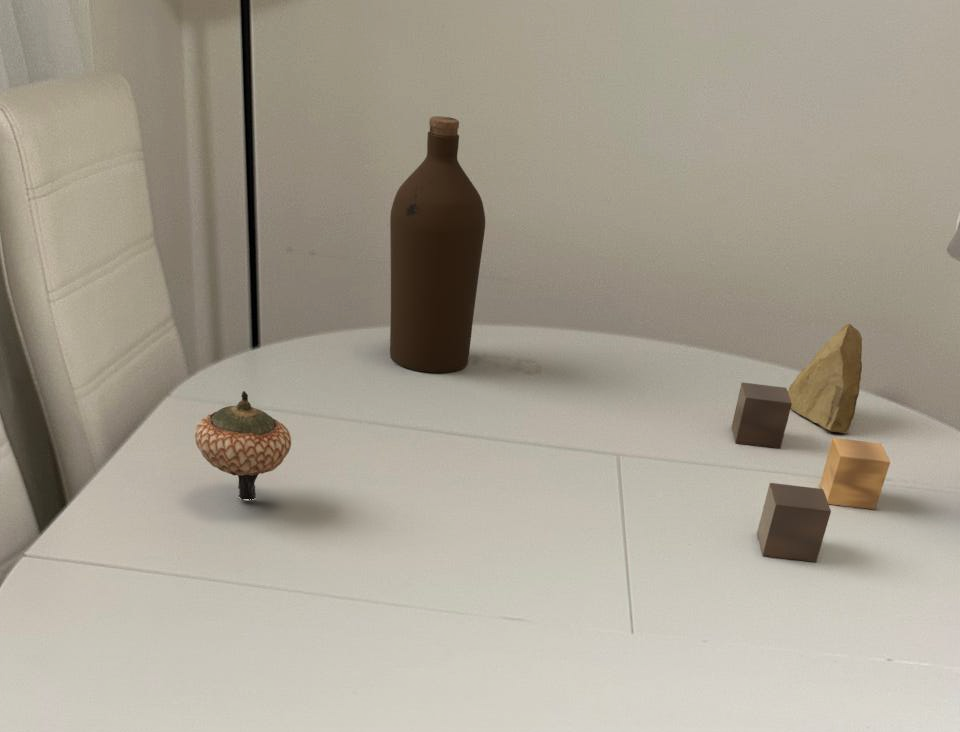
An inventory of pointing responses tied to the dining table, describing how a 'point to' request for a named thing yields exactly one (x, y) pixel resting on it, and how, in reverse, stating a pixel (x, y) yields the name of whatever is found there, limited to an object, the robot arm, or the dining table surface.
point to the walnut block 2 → (793, 522)
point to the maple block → (854, 473)
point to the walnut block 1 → (761, 415)
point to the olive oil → (435, 258)
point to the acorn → (243, 443)
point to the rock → (831, 382)
